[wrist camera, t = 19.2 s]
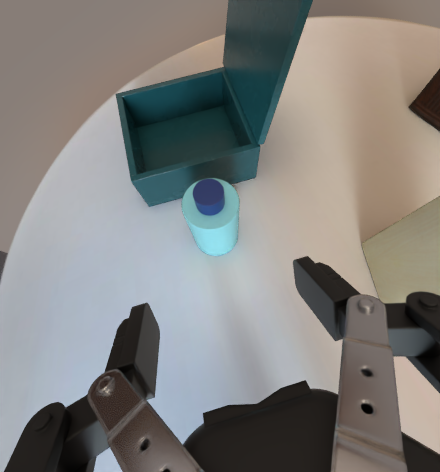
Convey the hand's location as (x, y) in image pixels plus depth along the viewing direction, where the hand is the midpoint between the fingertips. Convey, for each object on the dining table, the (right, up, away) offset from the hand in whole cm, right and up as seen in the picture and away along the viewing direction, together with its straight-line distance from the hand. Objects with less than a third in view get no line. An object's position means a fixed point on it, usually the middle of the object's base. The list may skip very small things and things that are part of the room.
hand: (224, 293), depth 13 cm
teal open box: (-5, +16, +23) cm, 29 cm away
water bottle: (-1, +3, +19) cm, 19 cm away
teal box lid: (+3, +23, +10) cm, 26 cm away
